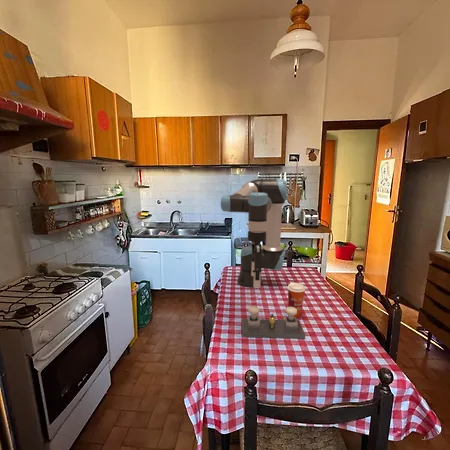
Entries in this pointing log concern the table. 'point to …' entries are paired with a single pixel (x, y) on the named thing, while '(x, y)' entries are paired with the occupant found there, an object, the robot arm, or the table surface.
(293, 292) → the coffee cup
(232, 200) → the robot arm
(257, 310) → the knob
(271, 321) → the potentiometer
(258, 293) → the table surface
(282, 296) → the table surface
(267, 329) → the panel
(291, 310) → the knob
